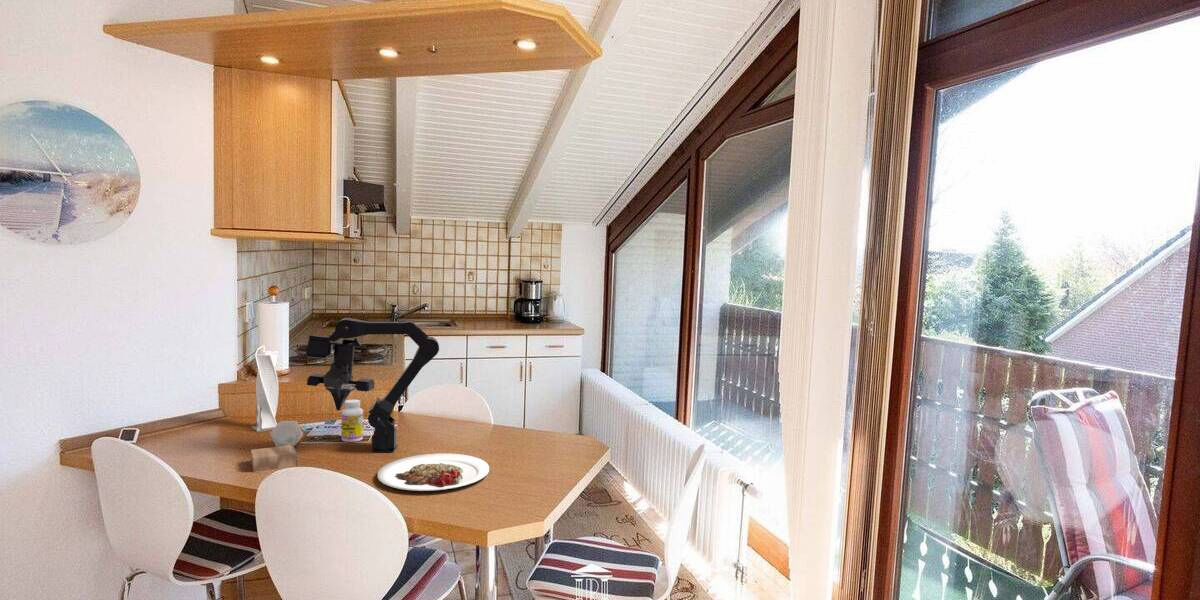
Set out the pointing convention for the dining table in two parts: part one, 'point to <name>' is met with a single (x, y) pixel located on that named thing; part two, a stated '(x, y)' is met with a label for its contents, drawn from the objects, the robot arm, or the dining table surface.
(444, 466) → the plated food
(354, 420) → the supplement bottle
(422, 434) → the dining table surface
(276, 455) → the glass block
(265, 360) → the skyscraper
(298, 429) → the die
